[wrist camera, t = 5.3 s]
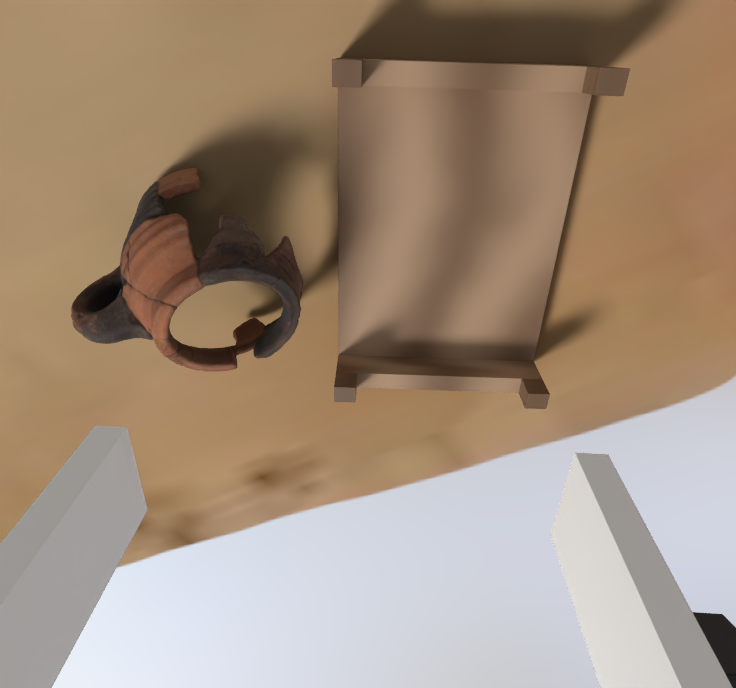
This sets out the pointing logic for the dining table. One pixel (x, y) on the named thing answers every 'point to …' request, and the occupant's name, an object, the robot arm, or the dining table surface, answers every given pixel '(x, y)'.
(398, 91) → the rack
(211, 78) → the dining table surface
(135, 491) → the robot arm
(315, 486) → the dining table surface
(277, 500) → the dining table surface
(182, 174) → the pottery mug
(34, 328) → the dining table surface
